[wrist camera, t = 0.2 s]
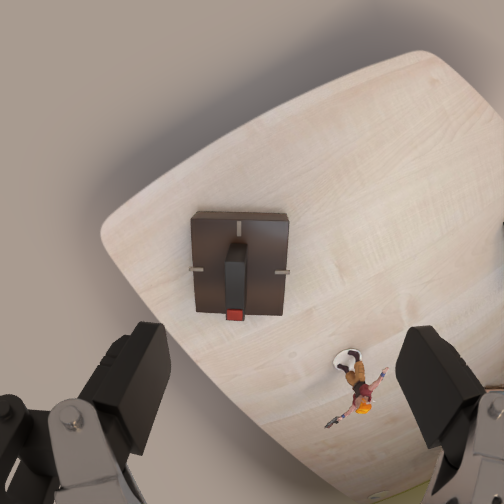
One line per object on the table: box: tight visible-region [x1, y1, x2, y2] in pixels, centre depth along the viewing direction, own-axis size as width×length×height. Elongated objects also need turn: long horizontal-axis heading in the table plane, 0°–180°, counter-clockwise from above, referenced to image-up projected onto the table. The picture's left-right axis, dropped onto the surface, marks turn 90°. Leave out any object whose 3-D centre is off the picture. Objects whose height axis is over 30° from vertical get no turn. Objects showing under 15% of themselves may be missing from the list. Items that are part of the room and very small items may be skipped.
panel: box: [189, 212, 290, 316], centre depth 29 cm, size 10×10×3 cm
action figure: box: [324, 349, 389, 428], centre depth 31 cm, size 12×3×9 cm, turn 156°
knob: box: [225, 243, 248, 321], centre depth 26 cm, size 6×2×5 cm, turn 179°
